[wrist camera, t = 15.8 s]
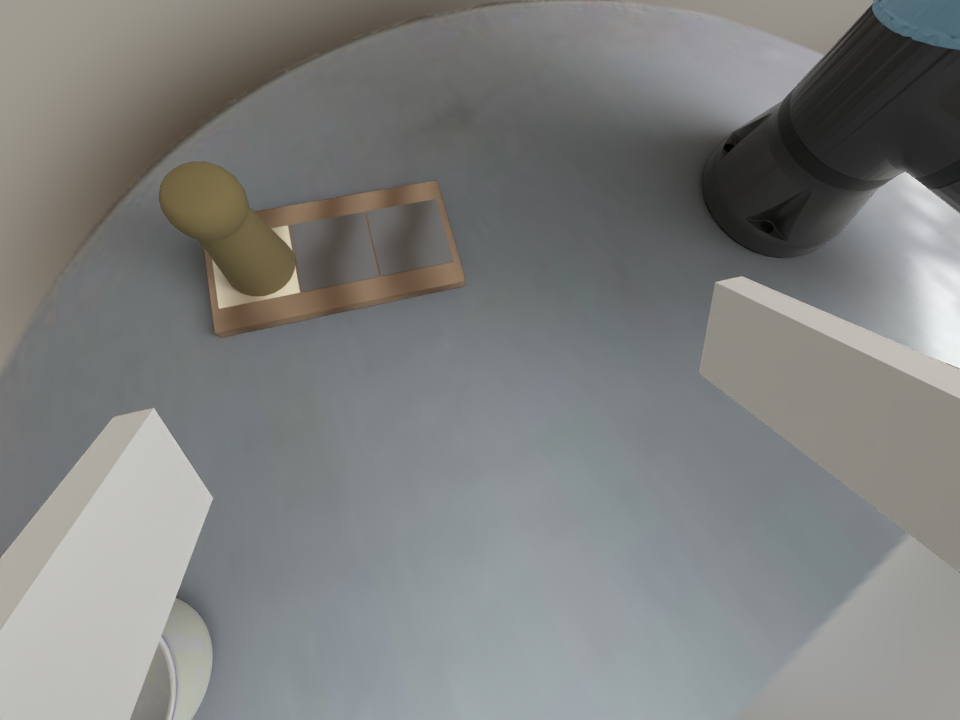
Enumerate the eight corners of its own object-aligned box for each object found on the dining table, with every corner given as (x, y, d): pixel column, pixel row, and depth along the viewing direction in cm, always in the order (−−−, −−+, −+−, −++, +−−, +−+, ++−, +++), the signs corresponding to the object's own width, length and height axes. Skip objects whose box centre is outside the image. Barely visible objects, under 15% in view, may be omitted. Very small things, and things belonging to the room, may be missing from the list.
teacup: (58, 623, 31) (-68, 672, 24) (209, 550, 33) (139, 574, 26) (109, 832, 29) (-13, 964, 21) (270, 739, 31) (212, 828, 23)
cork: (227, 302, 37) (141, 233, 26) (222, 240, 38) (138, 151, 28) (299, 290, 38) (244, 219, 27) (291, 230, 39) (236, 141, 29)
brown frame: (437, 188, 43) (437, 179, 42) (464, 286, 41) (465, 280, 40) (207, 228, 40) (199, 220, 39) (221, 337, 38) (214, 332, 36)
